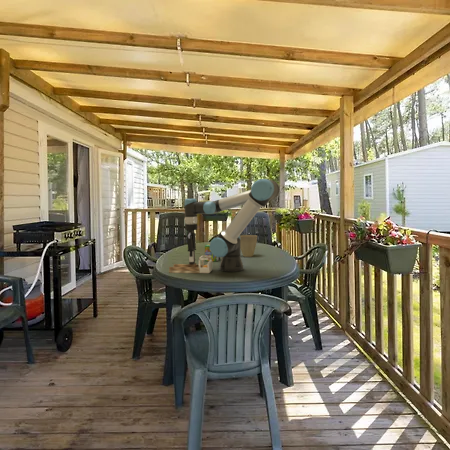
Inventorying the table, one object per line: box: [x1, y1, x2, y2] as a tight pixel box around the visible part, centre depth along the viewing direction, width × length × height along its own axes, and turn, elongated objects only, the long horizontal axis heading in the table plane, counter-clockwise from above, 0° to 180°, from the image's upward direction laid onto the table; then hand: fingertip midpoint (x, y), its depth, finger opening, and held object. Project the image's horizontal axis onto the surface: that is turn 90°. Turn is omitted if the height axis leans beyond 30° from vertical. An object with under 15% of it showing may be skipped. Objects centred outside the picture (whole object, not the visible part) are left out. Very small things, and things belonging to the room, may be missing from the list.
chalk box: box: [204, 243, 221, 263], centre depth 259 cm, size 9×9×15 cm
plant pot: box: [240, 234, 258, 258], centre depth 276 cm, size 15×15×16 cm
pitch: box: [168, 263, 203, 274], centre depth 222 cm, size 19×12×3 cm, turn 82°
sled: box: [187, 248, 197, 267], centre depth 221 cm, size 4×6×12 cm, turn 172°
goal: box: [198, 255, 213, 274], centre depth 220 cm, size 6×10×9 cm, turn 172°
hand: (192, 261), depth 221 cm, fingers closed on sled, 3 cm apart
